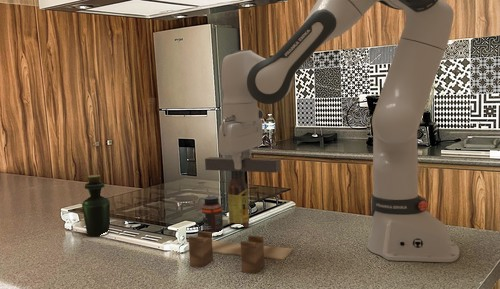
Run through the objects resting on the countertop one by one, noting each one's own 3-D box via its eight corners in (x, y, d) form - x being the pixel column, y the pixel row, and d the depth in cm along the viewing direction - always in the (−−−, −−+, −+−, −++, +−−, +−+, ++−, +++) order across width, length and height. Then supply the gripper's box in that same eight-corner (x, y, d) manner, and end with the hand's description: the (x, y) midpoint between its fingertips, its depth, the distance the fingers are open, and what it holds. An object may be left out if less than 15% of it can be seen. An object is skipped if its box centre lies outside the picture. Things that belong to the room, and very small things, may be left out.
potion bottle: (84, 239, 151) (79, 179, 148) (84, 231, 158) (79, 175, 156) (112, 235, 153) (108, 176, 151) (111, 228, 161) (107, 172, 159)
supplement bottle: (226, 232, 152) (224, 195, 151) (218, 238, 146) (217, 200, 145) (208, 231, 154) (206, 194, 153) (199, 237, 148) (197, 199, 147)
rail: (280, 170, 130) (280, 158, 129) (276, 172, 127) (275, 160, 127) (210, 168, 137) (210, 157, 137) (205, 169, 135) (205, 158, 134)
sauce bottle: (247, 229, 154) (244, 165, 152) (227, 229, 155) (224, 165, 153) (251, 223, 160) (248, 161, 158) (232, 223, 162) (229, 161, 159)
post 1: (213, 259, 129) (211, 232, 128) (202, 267, 124) (201, 238, 123) (200, 258, 130) (199, 231, 129) (190, 265, 125) (188, 237, 124)
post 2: (264, 265, 123) (263, 236, 122) (255, 273, 118) (254, 243, 118) (250, 264, 125) (249, 235, 124) (241, 271, 120) (240, 242, 119)
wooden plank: (293, 250, 134) (293, 248, 134) (283, 260, 126) (283, 258, 126) (212, 242, 143) (212, 240, 143) (198, 251, 136) (198, 249, 136)
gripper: (234, 117, 120) (236, 175, 121) (265, 111, 138) (267, 161, 140) (210, 117, 122) (213, 174, 124) (244, 112, 141) (246, 161, 142)
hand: (242, 167), depth 132 cm, fingers closed on rail, 3 cm apart
